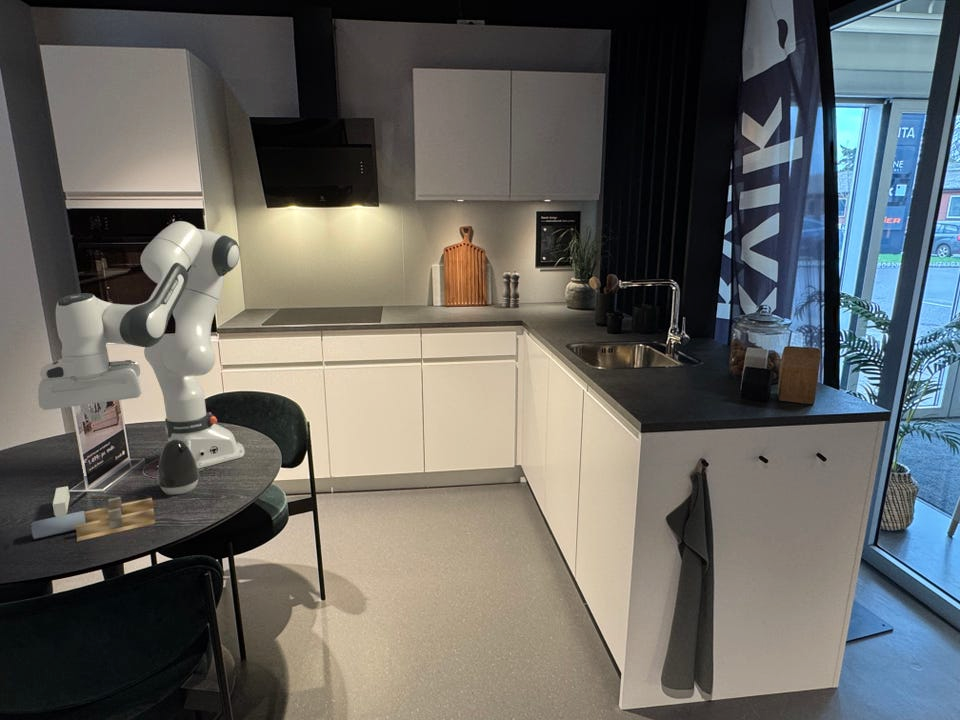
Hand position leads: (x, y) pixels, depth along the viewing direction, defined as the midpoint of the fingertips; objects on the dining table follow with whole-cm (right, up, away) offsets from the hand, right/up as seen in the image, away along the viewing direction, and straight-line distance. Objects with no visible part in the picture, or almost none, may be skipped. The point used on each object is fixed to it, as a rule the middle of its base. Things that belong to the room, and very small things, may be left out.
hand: (96, 420), depth 140 cm
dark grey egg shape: (+9, -22, +23) cm, 33 cm away
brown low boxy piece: (-2, -27, +3) cm, 27 cm away
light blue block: (-8, -27, -1) cm, 28 cm away
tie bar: (-15, -23, +10) cm, 30 cm away
